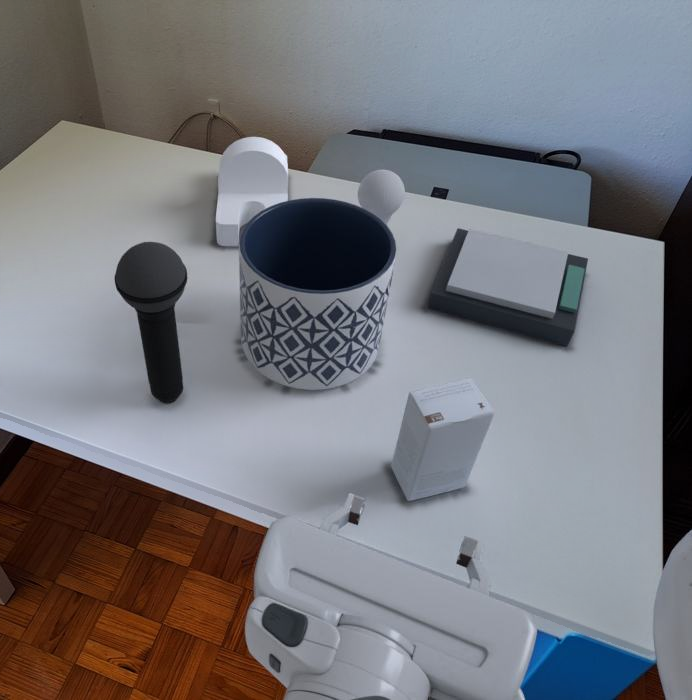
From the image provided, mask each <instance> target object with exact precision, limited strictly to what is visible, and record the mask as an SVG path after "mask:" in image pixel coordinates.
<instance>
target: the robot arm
mask: <svg viewBox="0 0 692 700" xmlns="http://www.w3.org/2000/svg"><path fill="white" fill-rule="evenodd" d="M366 502H367V498H364V497H361V496H358V495H356V494H353V493H351V492H349V493H348V494H347V497H346V499H345V502H344V504H343V506H342V507H340V508H338V509H337V510H335V511H334V512H332V513H330V514H329V515H327V516H326V517H324V518H323V519H322V520H321V523H320V525H319V527H315V526H313V525H310V524H308V523H306V522H303V521H300V520H298V519H295V518H293V517H291V516H287V515H286V516H282V517H280V518H278V519H276V520H273V521H272V522H271V523H270V525H269V527H268V529H267V530H266V531H267V532H266V534H265V536H264V539H263V542H262V544H261V547H260V550H259V552H258V553H259V554H258V556H257V560H256V564H255V568H254V574H253V601H252V602H251V603H250V605H249V607H248V609H247V613H246V616H245V622H244V638H245V642H246V646H247V649H248V650H247V651H248V652H249V653H250V655H251V656H252V657H253V658H254V659H255V660H256V661H257V662H258V663H259V664H260V665H262V667H264V668H265V670H267V671H268V672H269V673H270V674H271V675H273V676H274V678H276V679H277V680H278V681H279V683H281V684H282V685H283V686H284V687H285V688H286V691H285V693H284V696H283V699H282V700H526V697H525V695H524V692H523V690H522V689H521V685H522V684H523V681H524V679H525V676H526V674H527V671H528V668H529V665H530V662H531V659H532V656H533V652H534V648H535V645H536V640H537V635H538V628H537V625H536V623H535V622H534V619H533V618H532V616H531V614H530V613H529V612H528V611H526V610H524V609H522V608H521V607H518V606H514V605H512V604H510V603H507V602H505V601H502V600H499V599H497V598H494V597H492V596H489V594H490V591H491V586H492V584H491V581H490V580H489V577H488V573H487V570H486V569H485V566H484V564H483V561H482V560H481V558H482V554H483V549H484V545H485V543H484V542H483V541H479V540H477V539H474V538H471V537H469V536H464V537H463V540H462V541H461V544H460V547H459V551H458V552H459V553H458V555H457V558H456V562H455V564H456V565H459V566H460V567H463V568H465V569H466V573H467V576H468V579H469V583H468V585H467V586H464V585H462V584H459V583H456V582H454V581H452V580H449V579H446V578H445V577H443V576H439V575H437V574H434V573H431V572H429V571H426V570H424V569H421V568H418V567H416V566H414V565H411V564H409V563H406V562H403V561H401V560H398V559H396V558H393V557H391V556H388V555H387V554H384V553H381V552H378V551H376V550H373V549H371V548H368V547H366V546H363V545H361V544H359V543H357V542H353V541H351V540H348V539H346V538H343V537H341V536H339V535H338V534H339V531H340V529H341V528H343V527H345V525H347V524H348V523H349V524H352V525H355V526H359V523H360V521H361V518H362V516H363V513H364V510H365V507H366ZM652 610H653V611H652V639H653V648H654V649H653V650H654V656H655V662H656V666H657V670H658V671H657V672H658V675H659V680H660V683H661V685H662V687H661V688H662V690H663V694H664V697H665V700H692V529H691V530H689V532H687V533H686V534H685V535H684V536H683V537H682V538H681V539H680V540H679V541H678V543H677V544H676V545H675V546H674V548H673V549H672V550H671V552H670V554H669V556H668V558H667V560H666V563H665V565H664V567H663V569H662V572H661V574H660V579H659V581H658V585H657V588H656V592H655V597H654V604H653V608H652Z"/></svg>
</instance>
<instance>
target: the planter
mask: <svg viewBox="0 0 692 700" xmlns="http://www.w3.org/2000/svg"><path fill="white" fill-rule="evenodd" d="M396 241H397V240H396V238H395V236H394V233H393V232H392V230H391V229H390V227H389V226H388V224H387V225H386V224H385V223H384V222H383V221H382V220H381V219H380V218H378V217H377V216H376V215H375V214H373V213H371V212H369V211H368V210H366V209H364V208H362V207H361V206H359V205H357V204H354V203H351V202H347V201H343V200H338V199H333V198H325V197H305V198H303V197H302V198H296V199H288V201H285V202H281V203H278V204H275V205H273V206H270V207H268V208H266V209H264V210H262V211H261V212H259V213H258V214H256V215H255V216H254V217H253V218H252V219H251V220H250V221H249V222H248V223H247V224H245V225H244V227H243V229H242V231H241V234H240V235H239V245H238V260H239V261H238V269H239V271H238V273H239V277H238V278H239V313H240V317H239V318H240V320H239V321H240V340H241V348H242V351H243V353H244V355H245V357H246V358H247V360H248V362H249V363H250V365H251V366H252V367H253V368H254V369H255V370H256V371H258V373H260V374H261V375H262V376H264V377H266V378H268V379H269V380H271V381H272V382H275V383H277V384H280V385H283V386H286V387H289V388H293V389H297V390H298V389H300V390H307V391H309V390H310V391H316V390H317V391H318V390H328V389H334V388H338V387H341V386H344V385H347V384H349V383H351V382H353V381H355V380H357V379H358V378H359V377H361V376H362V375H364V374H365V373H366V372H367V371H368V370H369V369H370V368H371V366H372V365H373V364H374V362H375V360H376V358H377V355H378V353H379V350H380V345H381V339H382V334H383V328H384V324H385V318H386V312H387V307H388V301H389V297H390V291H391V286H392V280H393V275H394V268H395V263H396V257H397V251H398V250H397V242H396Z"/></svg>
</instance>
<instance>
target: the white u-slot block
mask: <svg viewBox="0 0 692 700" xmlns="http://www.w3.org/2000/svg"><path fill="white" fill-rule="evenodd" d="M219 161H220V162H219V167H218V168H219V169H218V179H217V188H218V189H217V191H218V193H217V194H218V195H217V202H216V203H217V204H216V213H215V233H216V234H215V235H216V244H218V245H219V246H221V247H239V241H240V230H241V227H243V226H246V224H247V223H248V222H249V221H250V220H251V219H252V218H253V217H254V216H255V215H256V214H258V213H259V212H261V211H262V210H264V209H266V208H268V207H270V206H273V205H275V204H278V203H281V202H285V201H289V163H288V155H287V154H286V153H285V151H283V150H282V149H281V147H280V146H279V145H278V144H276V143H275V142H274V141H272V140H271V139H267V138H264V137H259V136H247V137H243V138H240V139H237V140H235V141H234V142H233V143H231V144H229V145H228V146H227V147H226V149H225V150H224V151H223V153H222V155H221V157H220V160H219Z"/></svg>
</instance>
